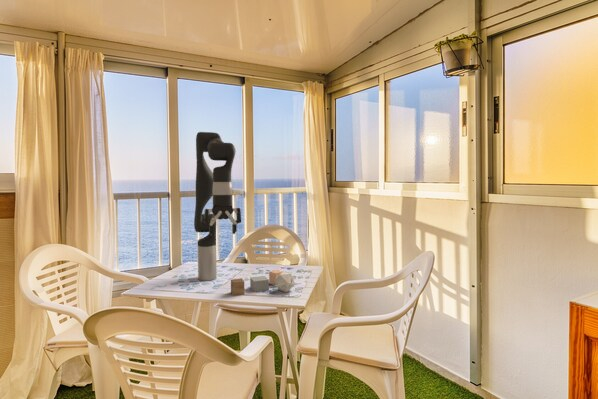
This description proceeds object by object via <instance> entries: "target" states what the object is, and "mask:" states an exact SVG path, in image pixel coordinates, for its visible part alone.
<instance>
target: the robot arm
mask: <svg viewBox="0 0 598 399" xmlns="http://www.w3.org/2000/svg"><path fill="white" fill-rule="evenodd" d="M195 137H196V138H195V150H196V151H195V154H196V158H195V159H196V171H195V172H196V173H195V174H196V175H195V208H194V209H195V210H194V217H193V218H194V221H193V224H194V225H193V226H194V231H195V232H196V233H208V234H207V235H206V236H204V237H202V238H199V239H198V240H197V280H199V281H202V282H205V281H213V280H216V279H217V277H218V276H217V275H218V274H217V271H218V270H217V220H228V219H229V220H230V222H231V223H232V224H231V226H232V228H231V233H232V235H235V234H236V233H237V229H238V228H237V225H238V224H240V223H242V215H241V214H242V211H241V208H240V207H235V208H234V206H233V186H232V169H233V164H234V160H235V156H236V152H237V150H236V147H235V145H234V144H233V143H231V142H224V141H222V137H221V135H220V134H219V133H217V132H206V131H198V132H197V134H196V136H195ZM204 153H207V156H208V158H209V159H210V160H211V161H218V162H219V161H221V162H222V161H224V162H225V163H224V165H220V166H216V167H215V166H214V168H213V169H212V170H211V168H210V166H209V165H208V163H207V162H206V159H205V156H204ZM211 199H212V208H211V209H210V208H206V205H207V203H208V202H209V201H210V200H211ZM203 211H204V212H203ZM233 212H234V213H235V215H236V219H235V218H234V217H233V216H232V214H233Z"/></svg>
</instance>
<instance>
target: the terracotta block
mask: <svg viewBox="0 0 598 399" xmlns="http://www.w3.org/2000/svg"><path fill="white" fill-rule="evenodd" d="M282 272H284V271H283V270H279V269H275V270H269V272H268V278H269V285H272V286H276V287H277V285H276V282H275V280H274V279H275V278H276V277H278V276H279V275H280V274H281V273H282Z"/></svg>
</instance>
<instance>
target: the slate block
mask: <svg viewBox="0 0 598 399" xmlns="http://www.w3.org/2000/svg"><path fill="white" fill-rule="evenodd" d="M249 282H250V283H249V286H250V289H251V290H252V291H253V292H254V293H255V292H256V293H257V292H263V291H264V292H265V291H270V284H269V279H268V278H267V277H266V276H265V275H262V276H261V275H259V276H251V277H249Z"/></svg>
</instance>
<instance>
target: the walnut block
mask: <svg viewBox="0 0 598 399" xmlns="http://www.w3.org/2000/svg"><path fill="white" fill-rule="evenodd" d="M230 293H231V295H232V296H234V297H235V296H242V295H243V296H244V295H245V280H244V279H243V278H232V279H230Z"/></svg>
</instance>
